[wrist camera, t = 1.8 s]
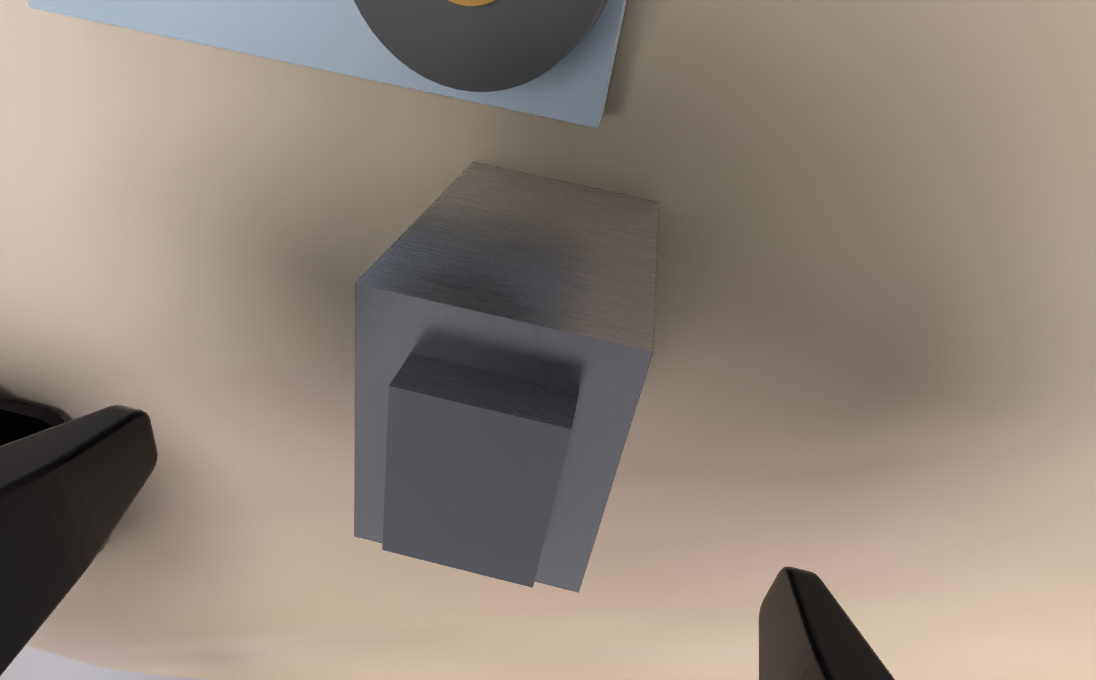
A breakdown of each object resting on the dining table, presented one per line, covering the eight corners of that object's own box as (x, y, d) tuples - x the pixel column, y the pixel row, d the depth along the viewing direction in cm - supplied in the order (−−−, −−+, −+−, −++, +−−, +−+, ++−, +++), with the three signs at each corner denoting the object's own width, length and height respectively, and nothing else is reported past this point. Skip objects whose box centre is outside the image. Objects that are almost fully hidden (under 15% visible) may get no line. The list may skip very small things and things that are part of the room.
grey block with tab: (607, 390, 16) (573, 635, 10) (453, 354, 16) (333, 574, 10) (658, 201, 13) (651, 387, 7) (473, 161, 13) (327, 311, 8)
